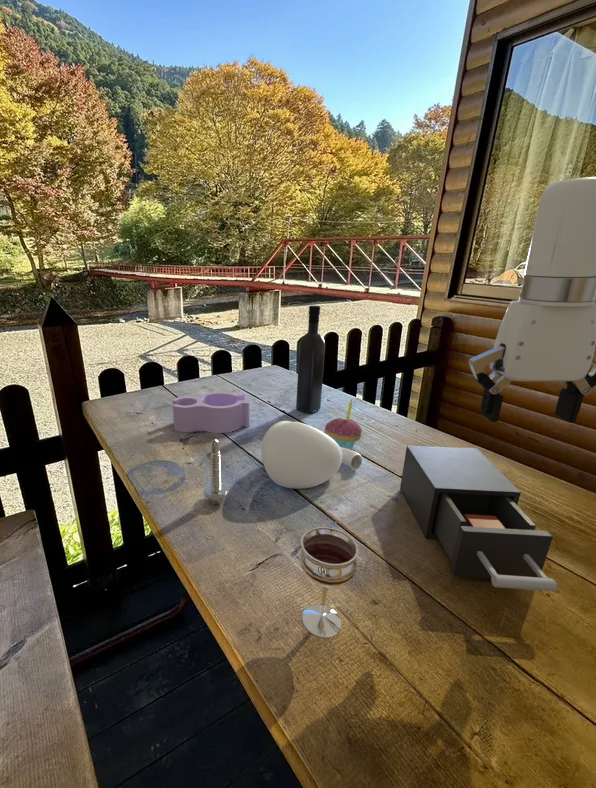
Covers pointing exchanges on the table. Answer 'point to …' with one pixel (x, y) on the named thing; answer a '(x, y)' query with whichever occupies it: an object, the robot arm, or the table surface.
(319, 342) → the wine bottle
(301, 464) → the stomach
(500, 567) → the drawer
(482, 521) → the block
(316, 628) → the wineglass
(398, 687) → the table surface
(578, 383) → the robot arm
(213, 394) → the clip
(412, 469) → the cabinet
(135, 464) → the table surface
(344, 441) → the cupcake
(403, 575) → the table surface
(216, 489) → the screw
